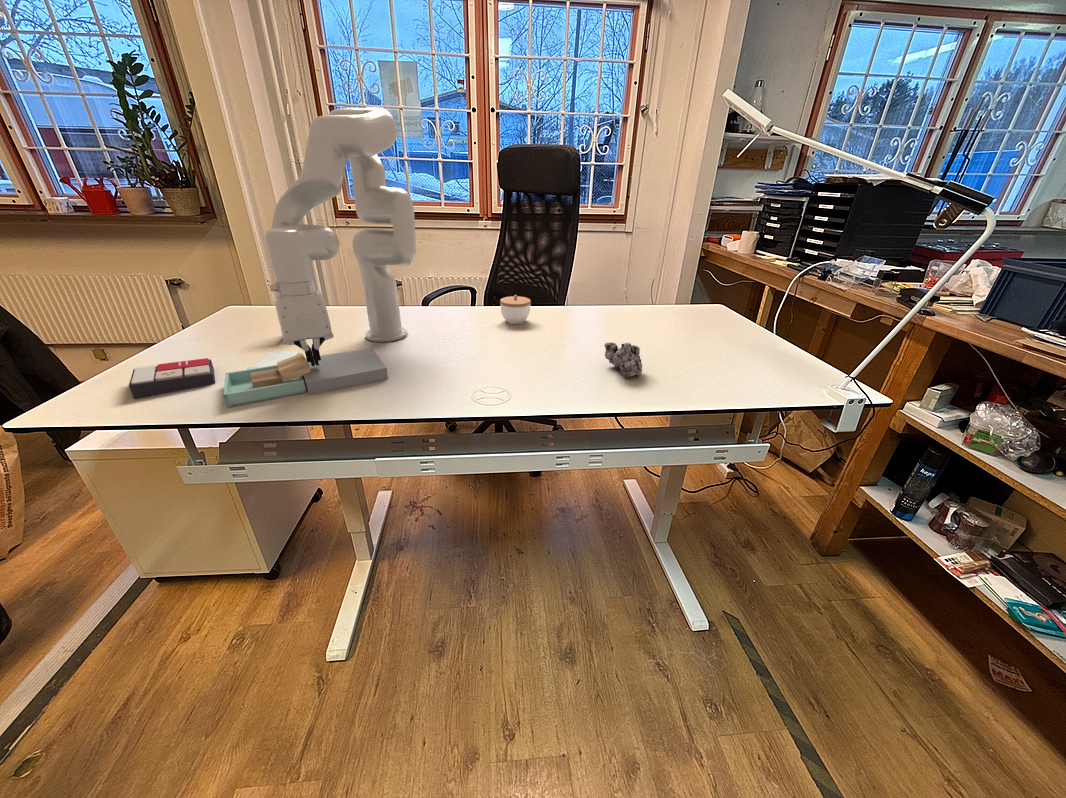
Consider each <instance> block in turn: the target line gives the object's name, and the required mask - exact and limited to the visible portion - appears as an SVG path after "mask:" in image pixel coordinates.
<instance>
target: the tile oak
mask: <svg viewBox="0 0 1066 798" xmlns="http://www.w3.org/2000/svg"><path fill="white" fill-rule="evenodd" d="M305 358H306V356H305V355H304V353H303V352H300V354H298V355H295V356H292V357H290V358H287V359H284V360H281V361H279V362H277V366H278V370H279V372H280V374H281V376H282V378H283V379H284V381H285V382H286V381H289V380H291V379H294V378H297V377H299V376H302V377H303V375H304V374H307V373H310V372H311V369H310V367H309V365H308V363H307V361H306V359H305Z"/></svg>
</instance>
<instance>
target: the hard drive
mask: <svg viewBox="0 0 1066 798" xmlns="http://www.w3.org/2000/svg"><path fill="white" fill-rule="evenodd" d="M298 354H301V352H300V351H269V352H268V353H267V354H266V355H264V356H263V357H261V358H260V359H259V360H257V361H255V363H253V364H252V365H250V366H249V367H247V368H246V369H245V370H248V369H254V368H260V367H266V366H273V365H277V362H279V361H281V360H284V359H287V358H290V357H292V356H295V355H298Z"/></svg>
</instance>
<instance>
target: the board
mask: <svg viewBox="0 0 1066 798" xmlns="http://www.w3.org/2000/svg"><path fill="white" fill-rule="evenodd" d="M320 357H321V360H320V361H318V362H319V365H318V366H317V365H316V364H315V365H314V366H312V365H311V362H307V363H308V365H309V367H310V369H311V372H310V373H307V374H304V375H302V377H303V380H304V384H305V387H306V391H307V393H308V395H314V394H318V393H323V392H330V391H333V390H334V391H335V390H338V389H344V388H350V387H354V386H360V385H364V384H368V383H369V384H371V383H374V382H379V381H380V382H381V381H384V380H388V379H389V376H388V371H387V369H388V368H387V367H386V366H385V364H384V362H383V361H382V359H381V358H380V357H379V356H378V354H377V353H376V352H375V350H374V349H373V348H372V347H369V348H363V349H355V350H348V351H343V352H337V353H332V354H331V353H330V354H329V353H328V354H325V355H324V354H323V355H320ZM305 359H306V357H305ZM306 361H307V359H306ZM314 363H315V362H314Z"/></svg>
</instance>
